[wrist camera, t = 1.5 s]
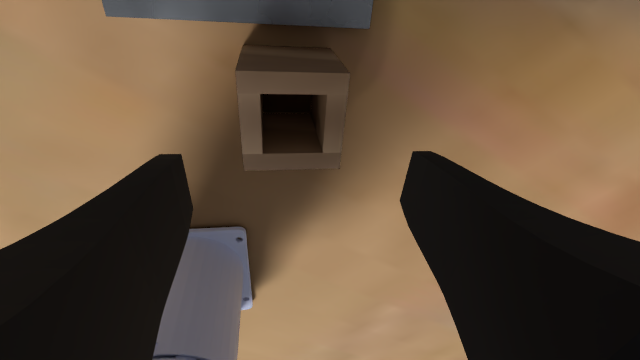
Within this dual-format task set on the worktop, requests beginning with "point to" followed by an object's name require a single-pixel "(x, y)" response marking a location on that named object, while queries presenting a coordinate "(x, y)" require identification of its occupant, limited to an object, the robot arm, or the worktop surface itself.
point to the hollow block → (291, 128)
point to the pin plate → (250, 11)
